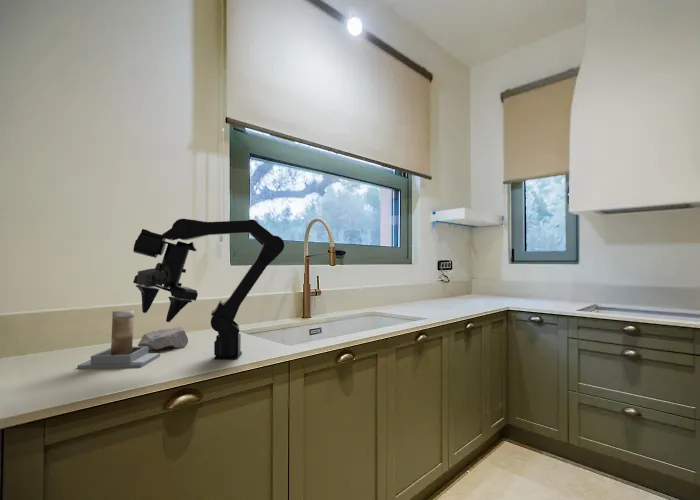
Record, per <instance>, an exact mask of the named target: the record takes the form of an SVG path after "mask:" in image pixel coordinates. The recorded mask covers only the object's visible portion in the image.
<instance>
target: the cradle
mask: <svg viewBox="0 0 700 500" xmlns="http://www.w3.org/2000/svg"><path fill="white" fill-rule="evenodd" d="M149 351H150V350H149V346H146V347H139V346H132V353H131V354H129V355H111V347H110V348H107V349H105V350H102V351H100V352H97V353H95V354H93V355H91V356H90V359H89V360H87V361H85V362H82V363H80V364H77V366H76V369H77V370H78V369H118V368H119V369H121V368H122V369H124V368H127V369H128V368H129V369H130V368H132V369H133V367H134V368H143V367H145V366H146V365H148V364H149V363H151V362H153V361H154V360H157V359H158V358H159V357H161V353H157V352H156V353H154V352H153V353H150V352H149Z"/></svg>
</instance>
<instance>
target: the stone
mask: <svg viewBox="0 0 700 500" xmlns="http://www.w3.org/2000/svg"><path fill="white" fill-rule="evenodd" d="M188 343H189V338H188V336H187V333H186V331H185V329H184V327H183V326H177V327H174V328H164V329H158V330H152V331H150V332H146V333H145V334H143V335H142V336H141V338H140V341H139V342H138V344H137V347H146V346H149V351H153V350H161V349H163V348H166V347H168V348H175V349H181V348H184V347H186V346H187V345H188Z"/></svg>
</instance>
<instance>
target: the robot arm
mask: <svg viewBox="0 0 700 500" xmlns="http://www.w3.org/2000/svg"><path fill="white" fill-rule="evenodd" d="M237 234H249V235H251V236H252V237H253V238H254V239H255V241H257V242H258V243H260V245H261V247H260V249H259V251H258V254H257V256H256V259H255V260H254V262H253V264H252V265H251V266H250V267H249V269H248V270H247V272H246V273H245V275H244V276H243V278H242V279H241V280H240V282H239V283H238V285H237V286H236V288H235V289H234V290H233V291H232V293H231V295H230V296H229V297H228V298H227V299H226V300H225V301H224V302H223V301H222V300H219V302H218V304H217V305H216V307H215V308H214V309H213V310H212V311H211V312H210V313H211V314H210V315H211V318H210V326H211V328H212V330H213V331H215V332H217V333H218V334H217V335H216V336H215V340H214V341H213V343H214V348H213V349H214V350H213V351H214V353H213V355H214V357H213V359H214V360H228V359H229V360H231V359H232V360H233V359H239V357H240V356H241V355H242V353H243V351H241V350H242V349H241V347H242V346H241V342H242V341H241V339H242V338H241V336H242V335H241V333H240V326H239V324H238V323H237V322H236V321H235V319H236V316H237V313H238V311H239V309H240V306H241V304H242V303H243V302H244V301H245V299H246V297H247V296H248V294H249V293H250V291H251V290H252V289H253V287H254V285H256V283H257V282H258V279H259V278H260V276H261V275H262V274H263V273H264V271H265V270H266V268H267V267H268V265H270V264H271V263H272V262H274V260H276V258H277V257H278V256H279V255H280V254H281V253H282V252H283V251H284V249H285V242H284V239H282V237H280V236H278V235H273V233H271V232H270V231H268V230H267V229H266V228H264V227H263V226H262V225H260V223H259V222H258V221H257V220H255V219H249V220H231V221H230V220H226V221H202V220H197V219H191V218H190V219H189V218H179V219H177V220H175V221H174V222H173V224H172V226H171V228H170V229H167V231H165V232H163V233H162V234H160V233H156V232H152V231H151V230H148V229H145V228H142V229H141V231H140V233H139V235H138V236H137V239H135V242H134V244H133V249H132V250H133V251H132V252H133V253H135V254H139V255H143V256H146V257H150V258H154V259H157V257H159V256H163V258H162V260H161V261H162V262H161V263H160V262H158V263H156V265H155V267H154V268H148V269H147V268H146V269H143V270H138V271H137V274H136V275H134V278H133V284H136V285H135V287H136V288H137V289H138V290H139V291H140V294H141V295H140V296H141V312H142V313H144V314H147V313H148V311H149V310H150V309H151V306H152V304H153V302H154V300H155V299H156V297H157V295H158V293H159V292H160V289H161V290H164V291H166V292H170V295H171V296H168V299H169V302H170V304H169V307H168V311H167V314H166V319H165V322H166V323H170V322H171V321H172V320H173V319H174V318H175V317H176V316H177V315H178V313H179V312H181V310H183V308H184V307H186V306H187V305H188V304H189V303H193V301H197V298H198V295H199V293H198V291H197V290H196V289H193V288H191V287H188V286H182V285H183V284H182V282H180V280H181V277H182V274H183V273H184V274H185V273H187V269H185V268H184V267H185V264H186V261H187V257H188V255H189V253H190V251H192V252H197V251H198V250H197V248H196V247H195V244H194V242H193V241H192V242H189V243H187V242H184V241H190V240H195V239H199V238H203V237H207V236H217V235H220V236H221V235H237ZM166 240H169V241H176V240H178V241H177V242H176V243H173V242H169V241H166ZM180 240H182V241H180ZM163 254H164V255H163Z"/></svg>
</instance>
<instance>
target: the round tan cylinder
mask: <svg viewBox="0 0 700 500" xmlns="http://www.w3.org/2000/svg"><path fill="white" fill-rule="evenodd" d="M111 313H112V316H111V317H112V321H111V339H110V341H111V343H110V345H111V346H110V348H111V355H129V354H131V353H132V347H133V344H134V343H133V340H134V339H133V338H134V319H135V310H133V309H132V310H131V309H130V310H129V309H125V310H124V309H123V310H114V311H113V310H112V312H111Z"/></svg>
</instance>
